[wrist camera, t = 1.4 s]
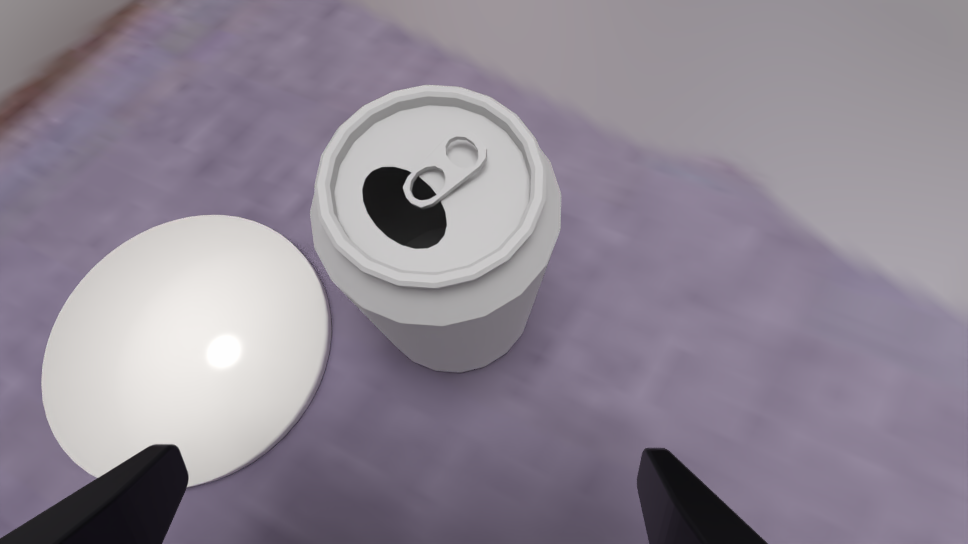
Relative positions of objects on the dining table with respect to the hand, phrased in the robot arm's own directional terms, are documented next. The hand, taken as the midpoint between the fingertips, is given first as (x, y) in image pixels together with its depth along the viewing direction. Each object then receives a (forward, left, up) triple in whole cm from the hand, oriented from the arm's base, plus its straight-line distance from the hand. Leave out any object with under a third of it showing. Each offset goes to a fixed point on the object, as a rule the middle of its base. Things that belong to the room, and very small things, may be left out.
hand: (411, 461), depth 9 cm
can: (+5, +5, -13) cm, 15 cm away
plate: (-5, +13, -13) cm, 19 cm away
